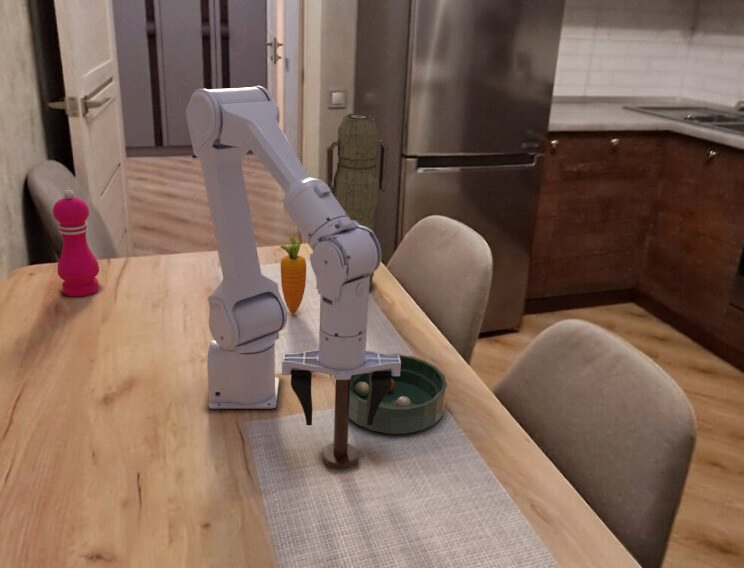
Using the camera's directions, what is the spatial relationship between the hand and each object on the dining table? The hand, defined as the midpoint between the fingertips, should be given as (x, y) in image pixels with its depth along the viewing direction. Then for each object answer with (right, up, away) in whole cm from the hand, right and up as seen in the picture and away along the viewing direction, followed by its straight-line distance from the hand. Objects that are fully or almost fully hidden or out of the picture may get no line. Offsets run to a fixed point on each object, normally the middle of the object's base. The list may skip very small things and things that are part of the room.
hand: (339, 420), depth 86 cm
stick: (0, -5, +1) cm, 5 cm away
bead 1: (+2, +2, +14) cm, 14 cm away
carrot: (-12, +11, +40) cm, 43 cm away
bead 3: (+8, 0, +11) cm, 14 cm away
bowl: (+7, -1, +13) cm, 15 cm away
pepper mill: (-54, +16, +43) cm, 71 cm away
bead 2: (+6, +2, +15) cm, 17 cm away
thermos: (-2, +17, +54) cm, 56 cm away
